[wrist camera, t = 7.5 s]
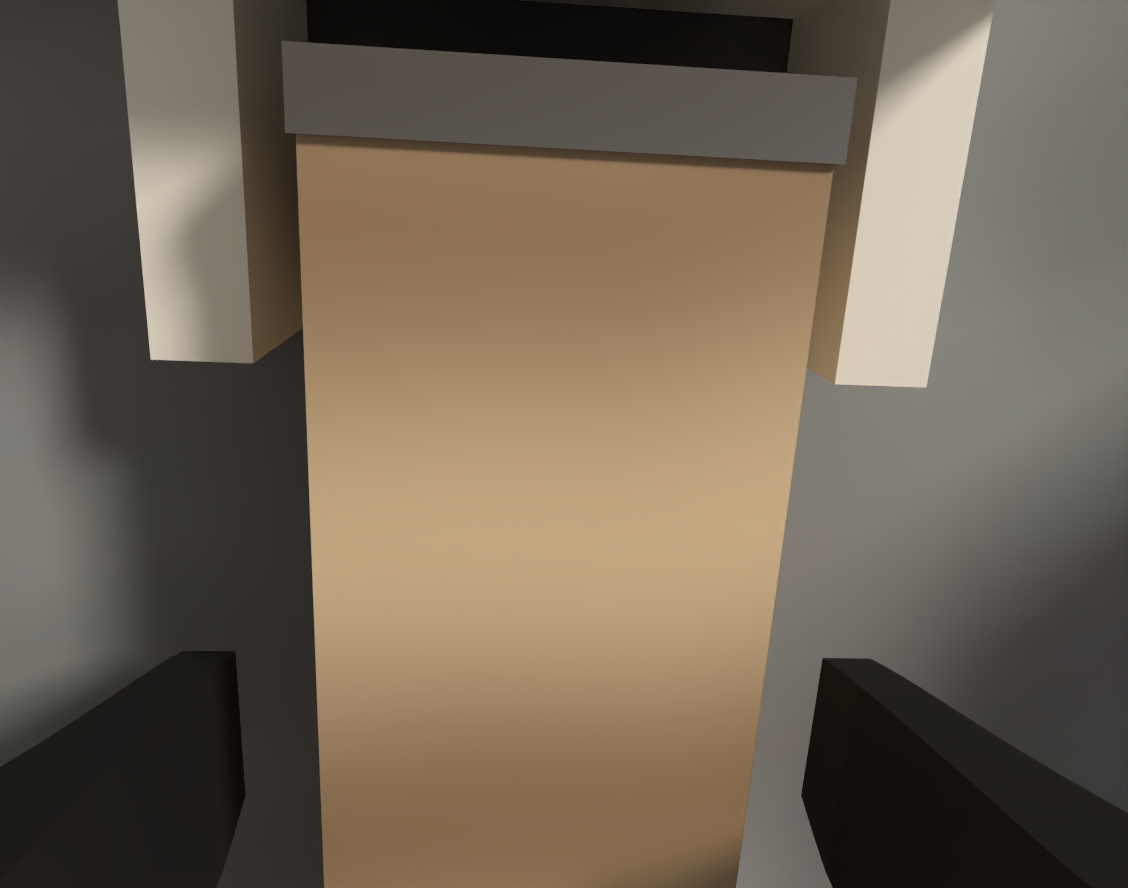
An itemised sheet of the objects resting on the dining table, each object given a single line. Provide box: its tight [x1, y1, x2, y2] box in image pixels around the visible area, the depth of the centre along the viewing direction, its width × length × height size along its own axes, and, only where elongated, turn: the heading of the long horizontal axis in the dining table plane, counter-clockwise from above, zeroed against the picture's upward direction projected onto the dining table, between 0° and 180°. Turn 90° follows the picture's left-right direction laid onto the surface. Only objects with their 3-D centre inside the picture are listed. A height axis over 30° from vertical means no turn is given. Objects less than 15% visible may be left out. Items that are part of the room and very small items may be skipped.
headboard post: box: [118, 0, 995, 388], centre depth 8 cm, size 6×9×6 cm
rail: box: [281, 41, 858, 888], centre depth 11 cm, size 14×4×5 cm, turn 177°
